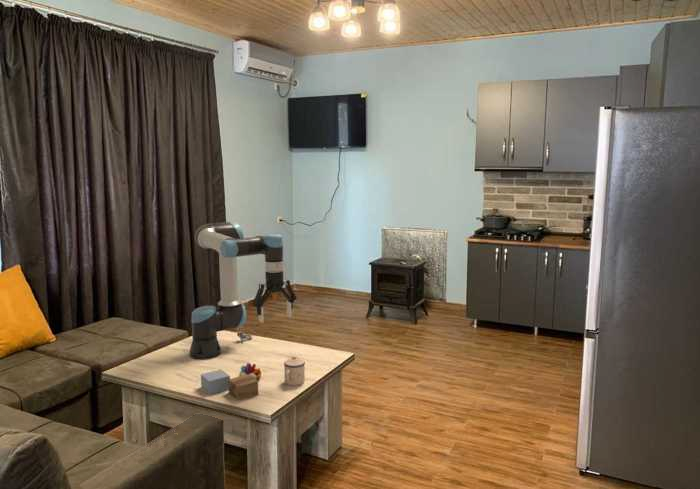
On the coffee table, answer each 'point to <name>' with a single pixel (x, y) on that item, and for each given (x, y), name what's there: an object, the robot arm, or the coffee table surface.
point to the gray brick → (215, 381)
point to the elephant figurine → (243, 335)
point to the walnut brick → (243, 387)
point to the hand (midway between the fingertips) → (275, 319)
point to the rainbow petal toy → (250, 371)
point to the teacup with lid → (294, 371)
